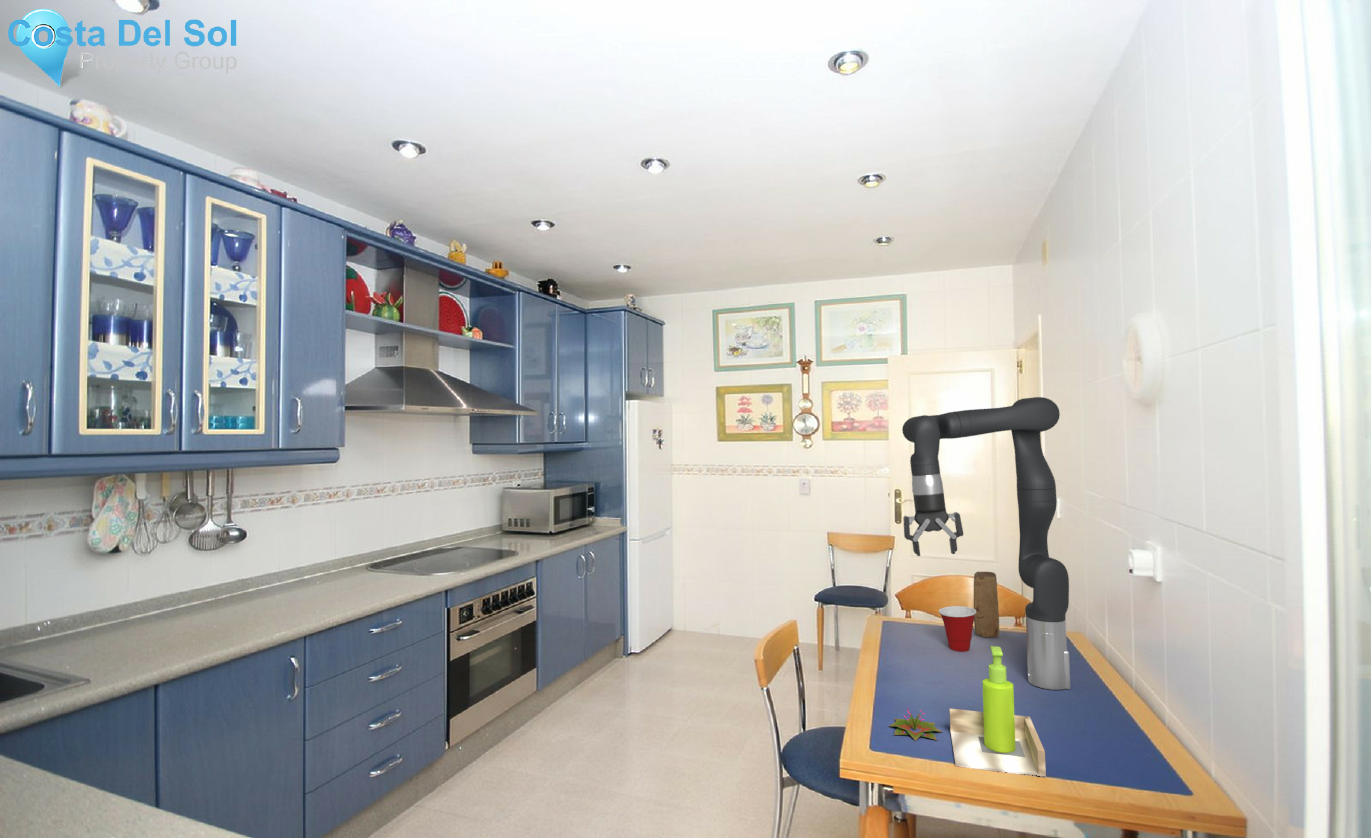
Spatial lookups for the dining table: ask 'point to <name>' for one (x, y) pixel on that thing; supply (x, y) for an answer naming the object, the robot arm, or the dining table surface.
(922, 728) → the lily flower
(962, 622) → the plastic cup
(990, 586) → the block
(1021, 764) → the corner arena
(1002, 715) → the soap dispenser
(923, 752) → the dining table surface
